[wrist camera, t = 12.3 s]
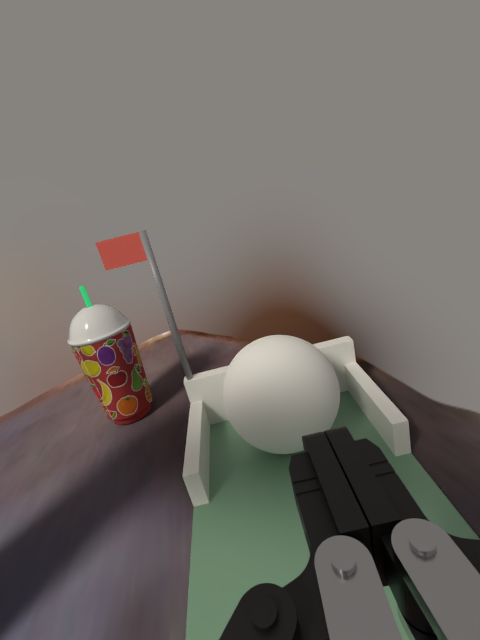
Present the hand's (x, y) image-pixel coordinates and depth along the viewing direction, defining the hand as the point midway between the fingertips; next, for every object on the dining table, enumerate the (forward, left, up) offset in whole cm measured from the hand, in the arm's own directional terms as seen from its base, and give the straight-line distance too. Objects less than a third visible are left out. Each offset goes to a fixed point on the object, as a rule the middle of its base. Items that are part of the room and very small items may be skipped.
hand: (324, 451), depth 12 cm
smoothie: (-21, +36, -18) cm, 45 cm away
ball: (0, +22, -11) cm, 24 cm away
